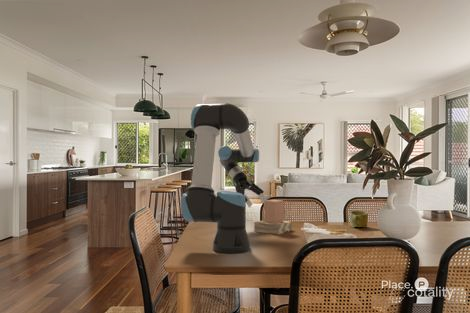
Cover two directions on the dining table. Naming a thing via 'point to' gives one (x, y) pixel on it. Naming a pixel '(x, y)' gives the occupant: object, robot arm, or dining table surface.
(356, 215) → the mug
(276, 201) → the terracotta block
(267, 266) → the dining table surface
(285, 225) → the ash block
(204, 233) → the dining table surface
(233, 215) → the robot arm
